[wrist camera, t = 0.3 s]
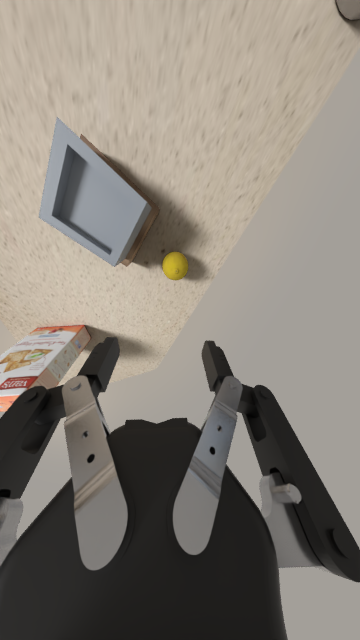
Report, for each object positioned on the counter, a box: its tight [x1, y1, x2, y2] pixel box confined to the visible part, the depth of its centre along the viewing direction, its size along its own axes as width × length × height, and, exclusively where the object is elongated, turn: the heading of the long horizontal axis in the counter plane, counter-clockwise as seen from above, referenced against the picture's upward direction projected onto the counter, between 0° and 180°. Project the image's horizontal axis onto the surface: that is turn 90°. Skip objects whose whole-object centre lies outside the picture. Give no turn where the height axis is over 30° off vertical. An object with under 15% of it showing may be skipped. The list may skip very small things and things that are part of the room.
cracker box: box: [0, 325, 91, 412], centre depth 33 cm, size 14×6×21 cm, turn 92°
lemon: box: [162, 252, 188, 280], centre depth 28 cm, size 6×6×8 cm
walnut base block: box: [80, 134, 160, 267], centre depth 24 cm, size 12×12×5 cm
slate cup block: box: [39, 117, 152, 267], centre depth 20 cm, size 10×10×6 cm
